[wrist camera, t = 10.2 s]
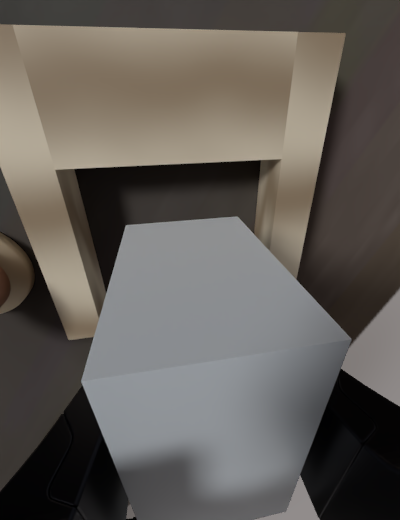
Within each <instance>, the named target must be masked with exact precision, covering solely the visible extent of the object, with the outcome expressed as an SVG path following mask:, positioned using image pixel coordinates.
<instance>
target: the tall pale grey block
mask: <svg viewBox="0 0 400 520" xmlns="http://www.w3.org/2000/svg"><path fill="white" fill-rule="evenodd" d="M351 340H352V339H351V338H350V337H349V336H348V335H347V334H346V332H345V331H344V330H343V329H342V328H341V327H340V326H339V325H338V324H337V323H336V322H335V321H334V320H333V319H332V317H331V316H330V315H329V314H328V313H327V312H326V311H325V310H324V309H323V308H322V307H321V306H320V305H319V304H318V302H317V301H316V300H315V299H314V298H313V297H312V296H311V295H310V294H309V293H308V292H307V291H306V290H305V288H304V287H303V286H302V285H301V284H300V283H299V282H298V281H297V280H296V279H295V278H294V277H293V276H292V275H291V273H290V272H289V271H288V270H287V269H286V268H285V267H284V266H283V265H282V264H281V263H280V262H279V261H278V260H277V258H276V257H275V256H274V255H273V254H272V253H271V252H270V251H269V250H268V249H267V248H266V247H265V246H264V244H263V243H262V242H261V241H260V240H259V239H258V238H257V237H256V236H255V235H254V234H253V233H252V232H251V231H250V229H249V228H248V227H247V226H246V225H245V224H244V223H243V222H242V221H241V220H240V219H239V218H238V217H225V218H212V219H200V220H187V221H174V222H161V223H148V224H135V225H126V227H125V230H124V233H123V237H122V240H121V244H120V247H119V251H118V254H117V258H116V261H115V265H114V268H113V272H112V275H111V279H110V282H109V286H108V289H107V293H106V296H105V300H104V303H103V307H102V310H101V314H100V317H99V321H98V324H97V328H96V331H95V335H94V338H93V342H92V345H91V349H90V352H89V356H88V359H87V363H86V366H85V370H84V373H83V377H82V380H81V382H82V385H83V387H84V390H85V392H86V395H87V397H88V400H89V402H90V405H91V407H92V410H93V412H94V415H95V417H96V420H97V422H98V425H99V427H100V430H101V432H102V435H103V437H104V439H105V442H106V444H107V447H108V449H109V452H110V454H111V457H112V459H113V462H114V464H115V467H116V469H117V472H118V474H119V477H120V479H121V482H122V484H123V487H124V489H125V492H126V494H127V496H128V499H129V501H130V504H131V506H132V509H133V511H134V513H135V516H136V519H137V520H254V519H257V518H261V517H266V516H269V515H274V514H277V513H282V512H285V511H286V510H287V507H288V505H289V502H290V500H291V497H292V494H293V492H294V489H295V487H296V484H297V481H298V479H299V476H300V474H301V471H302V468H303V466H304V463H305V460H306V458H307V455H308V453H309V450H310V447H311V445H312V442H313V440H314V437H315V434H316V432H317V429H318V426H319V424H320V421H321V419H322V416H323V413H324V411H325V408H326V405H327V403H328V400H329V398H330V395H331V392H332V390H333V387H334V385H335V382H336V379H337V377H338V374H339V371H340V369H341V366H342V364H343V361H344V358H345V356H346V353H347V351H348V348H349V345H350V343H351Z"/></svg>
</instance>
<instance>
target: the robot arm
mask: <svg viewBox="0 0 400 520" xmlns="http://www.w3.org/2000/svg"><path fill="white" fill-rule="evenodd" d="M300 475H301V478H302V480H303V482H304V485H305V487H306V489H307V492H308V494H309V496H310V499H311V501H312V503H313V506H314V508H315V511H316V513H317V515H318V517H319V518H320V520H400V407H399V406H398V405H396V404H394V403H393V402H391V401H389V400H388V399H386V398H385V397H383V396H381V395H380V394H378V393H377V392H375V391H373V390H372V389H370V388H368V387H367V386H365V385H364V384H362V383H361V382H360V381H358V380H357V379H355V378H354V377H352V376H351V375H349V374H348V373H346V372H345V371H343V370H342V369H340V371H339V374H338V377H337V379H336V382H335V385H334V387H333V390H332V392H331V395H330V398H329V400H328V403H327V405H326V408H325V411H324V413H323V416H322V419H321V421H320V424H319V426H318V429H317V432H316V434H315V437H314V440H313V442H312V445H311V447H310V450H309V453H308V455H307V458H306V460H305V463H304V466H303V468H302V471H301V474H300ZM127 506H128V496H127V494H126V492H125V489H124V487H123V484H122V482H121V479H120V477H119V474H118V472H117V469H116V467H115V464H114V462H113V459H112V457H111V454H110V452H109V449H108V447H107V444H106V442H105V439H104V437H103V435H102V432H101V430H100V427H99V425H98V422H97V420H96V417H95V415H94V412H93V410H92V407H91V405H90V402H89V400H88V397H87V395H86V392H85V390H84V387H83V385H82V387H81V388H80V390H79V391H78V392H77V394H76V395H75V396H74V398H73V399H72V401H71V402H70V403H69V405H68V406H67V408H66V409H65V410H64V414H61V416H60V417H59V418H58V420H57V421H56V423H55V424H54V425H53V427H52V428H51V429H50V431H49V432H48V433H47V435H46V436H45V437H44V439H43V440H42V441H41V443H40V444H39V445H38V447H37V448H36V449H35V450H34V452H33V453H32V454H31V455H30V456H29V458H28V459H27V460H26V461H25V463H24V464H23V465H22V466H21V468H20V469H19V470H18V471H17V472H16V474H15V475H14V476H13V477H12V478H11V479H10V481H9V482H8V483H7V484H6V485H5V487H4V488H3V489H2V490H1V491H0V520H137V519H136V517H133V519H126V515H127Z"/></svg>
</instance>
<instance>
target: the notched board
mask: <svg viewBox="0 0 400 520" xmlns="http://www.w3.org/2000/svg"><path fill="white" fill-rule="evenodd" d="M345 35H346V33H316V32H276V31H236V30H196V29H157V28H117V27H77V26H37V25H0V167H1V170H2V172H3V175H4V177H5V180H6V182H7V185H8V187H9V190H10V192H11V195H12V197H13V200H14V203H15V205H16V208H17V210H18V213H19V215H20V218H21V220H22V223H23V225H24V228H25V230H26V233H27V236H28V238H29V241H30V243H31V246H32V248H33V251H34V253H35V256H36V258H37V261H38V263H39V266H40V268H41V271H42V274H43V276H44V279H45V281H46V284H47V286H48V289H49V291H50V294H51V296H52V299H53V301H54V304H55V307H56V309H57V312H58V314H59V317H60V319H61V322H62V324H63V327H64V329H65V332H66V334H67V337H68V340H74V339H81V338H89V337H94V335H95V331H96V328H97V324H98V321H99V317H100V314H101V310H102V307H103V303H104V300H105V296H106V290H105V287H104V283H103V279H102V275H101V271H100V267H99V263H98V259H97V255H96V252H95V248H94V244H93V240H92V236H91V232H90V228H89V224H88V221H87V217H86V213H85V209H84V205H83V201H82V197H81V193H80V189H79V186H78V182H77V178H76V174H75V170H74V169H82V168H103V167H125V166H146V165H167V164H189V163H210V162H231V161H253V160H261V165H260V176H259V187H258V198H257V209H256V220H255V231H254V235H255V236H256V237H257V238H258V239H259V240H260V241H261V242H262V243H263V244H264V246H265V247H266V248H267V249H268V250H269V251H270V252H271V253H272V254H273V255H274V256H275V257H276V258H277V260H278V261H279V262H280V263H281V264H282V265H283V266H284V267H285V268H286V269H287V270H288V271H289V272H290V273H291V275H292V276H293V277H294V278H295V279H297V274H298V269H299V264H300V259H301V254H302V249H303V244H304V239H305V234H306V229H307V224H308V219H309V214H310V209H311V204H312V200H313V195H314V190H315V185H316V180H317V175H318V170H319V165H320V160H321V155H322V150H323V145H324V140H325V135H326V130H327V125H328V120H329V115H330V110H331V105H332V100H333V95H334V90H335V85H336V80H337V75H338V70H339V65H340V60H341V55H342V50H343V45H344V40H345Z"/></svg>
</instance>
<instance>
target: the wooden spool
mask: <svg viewBox="0 0 400 520" xmlns="http://www.w3.org/2000/svg"><path fill="white" fill-rule="evenodd" d="M34 280H35V273H34V268H33V265H32V263H31V261H30V259H29V257H28V256H27V254H26V253H25V252H24V250H23V249H22V248H21V247H20V246H19V245H18V244H17V243H15V242H14V241H13V240H12V239H10V238H9V237H7V236H5V235H4V234H2V233H0V314H2V313H5V312H8V311H10V310H12V309H14V308H16V307H17V306H18V305H20V304H21V303H22V302H23V300H24V299H25V298H26V296H27V295H28V294H29V292H30V291H31V289H32V287H33V285H34Z"/></svg>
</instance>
